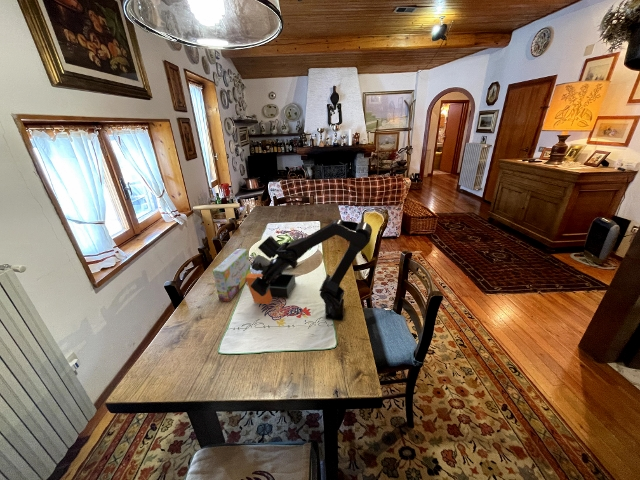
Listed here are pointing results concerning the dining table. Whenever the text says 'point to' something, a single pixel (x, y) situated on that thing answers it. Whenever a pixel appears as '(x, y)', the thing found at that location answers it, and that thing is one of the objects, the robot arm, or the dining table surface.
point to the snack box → (232, 274)
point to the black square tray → (282, 286)
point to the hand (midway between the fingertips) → (256, 287)
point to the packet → (256, 297)
